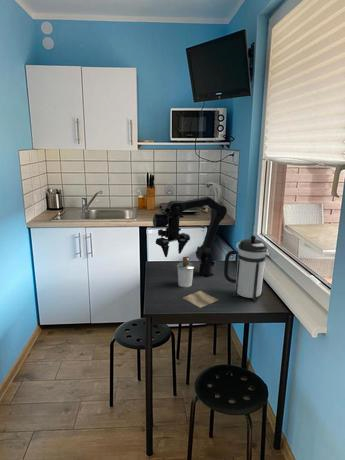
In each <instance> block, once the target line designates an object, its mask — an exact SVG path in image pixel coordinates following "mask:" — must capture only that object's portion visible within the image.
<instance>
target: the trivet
mask: <svg viewBox="0 0 345 460" xmlns="http://www.w3.org/2000/svg"><path fill="white" fill-rule="evenodd" d="M182 299H183V300H185V301H187V302H189V303H191V304H192V305H195V306H197V307H198V308H200V309H201V308H203V307H206V306H209V305H211V304H213V303H215V302H218V301H219V299H218V298H216V297H214V296H212V295H211V294H208V293H206V292H204V291H202V290H199V291H196V292H193V293H190V294H188V295H185V296H183V297H182Z"/></svg>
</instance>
